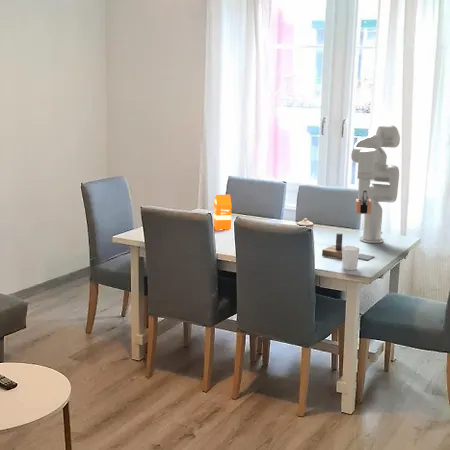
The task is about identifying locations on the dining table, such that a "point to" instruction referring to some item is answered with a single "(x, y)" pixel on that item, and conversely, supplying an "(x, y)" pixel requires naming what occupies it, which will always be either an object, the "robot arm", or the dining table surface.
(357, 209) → the peach cube
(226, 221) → the orange juice
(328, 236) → the dining table surface
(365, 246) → the dining table surface
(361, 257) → the coaster
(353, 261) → the white cup
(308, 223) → the teacup with lid
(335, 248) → the post base
